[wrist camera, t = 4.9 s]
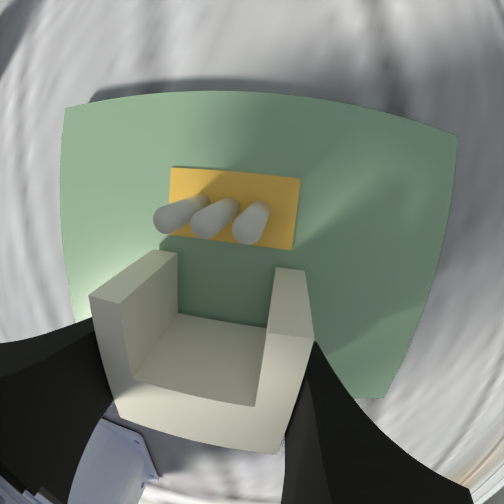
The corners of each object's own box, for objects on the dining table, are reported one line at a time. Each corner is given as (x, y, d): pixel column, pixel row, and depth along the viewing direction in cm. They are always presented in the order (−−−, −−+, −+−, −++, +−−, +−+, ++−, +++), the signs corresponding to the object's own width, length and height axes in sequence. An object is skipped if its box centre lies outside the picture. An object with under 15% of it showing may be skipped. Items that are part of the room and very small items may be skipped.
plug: (281, 378, 11) (276, 454, 7) (159, 354, 11) (120, 417, 8) (304, 270, 9) (314, 338, 6) (153, 249, 10) (88, 294, 6)
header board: (378, 382, 12) (396, 444, 8) (92, 332, 13) (49, 374, 10) (442, 138, 8) (507, 131, 4) (81, 110, 10) (16, 102, 6)
